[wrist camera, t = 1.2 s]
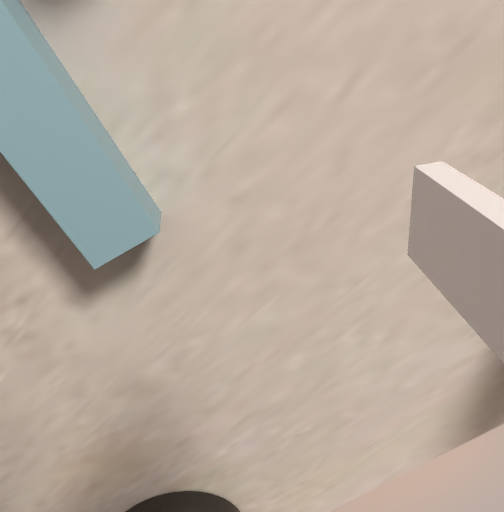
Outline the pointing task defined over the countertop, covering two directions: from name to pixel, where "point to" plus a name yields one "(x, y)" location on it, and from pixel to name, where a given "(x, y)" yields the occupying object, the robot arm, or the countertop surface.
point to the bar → (66, 147)
